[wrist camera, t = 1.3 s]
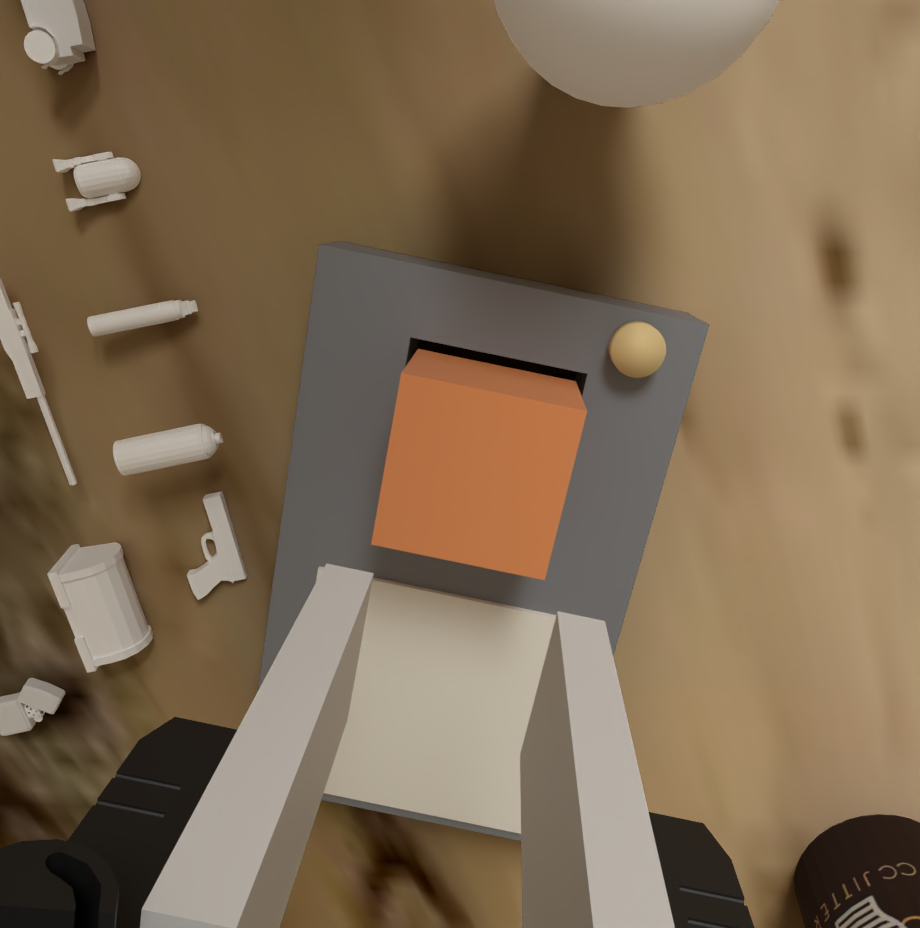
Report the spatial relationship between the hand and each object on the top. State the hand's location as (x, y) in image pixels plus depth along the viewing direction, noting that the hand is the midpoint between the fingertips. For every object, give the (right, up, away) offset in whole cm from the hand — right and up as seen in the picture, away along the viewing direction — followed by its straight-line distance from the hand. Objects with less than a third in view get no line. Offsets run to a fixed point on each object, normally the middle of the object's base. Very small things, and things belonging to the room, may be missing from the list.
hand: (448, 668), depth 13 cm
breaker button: (+1, +4, +13) cm, 14 cm away
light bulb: (+5, +17, +12) cm, 21 cm away
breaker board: (0, 0, +17) cm, 17 cm away
